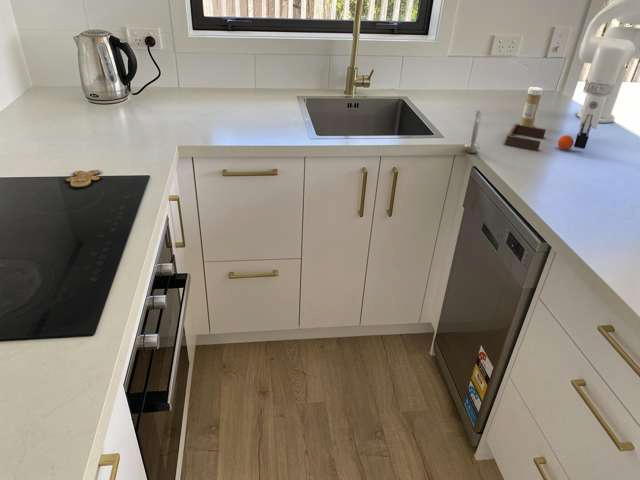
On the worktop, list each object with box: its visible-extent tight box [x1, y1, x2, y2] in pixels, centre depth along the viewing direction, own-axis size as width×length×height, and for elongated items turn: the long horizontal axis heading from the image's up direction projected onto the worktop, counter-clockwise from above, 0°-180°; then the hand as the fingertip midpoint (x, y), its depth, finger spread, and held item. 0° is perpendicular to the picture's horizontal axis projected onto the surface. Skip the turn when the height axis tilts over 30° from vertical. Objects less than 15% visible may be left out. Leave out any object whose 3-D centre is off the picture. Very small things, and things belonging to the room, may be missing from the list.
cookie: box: [65, 169, 101, 189], centre depth 126 cm, size 8×1×10 cm
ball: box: [557, 134, 575, 151], centre depth 152 cm, size 4×4×4 cm
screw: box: [463, 110, 482, 154], centre depth 146 cm, size 13×5×5 cm
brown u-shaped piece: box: [504, 123, 547, 152], centre depth 158 cm, size 14×10×3 cm
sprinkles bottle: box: [519, 86, 544, 127], centre depth 167 cm, size 5×5×14 cm
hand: (579, 147), depth 151 cm, fingers closed
